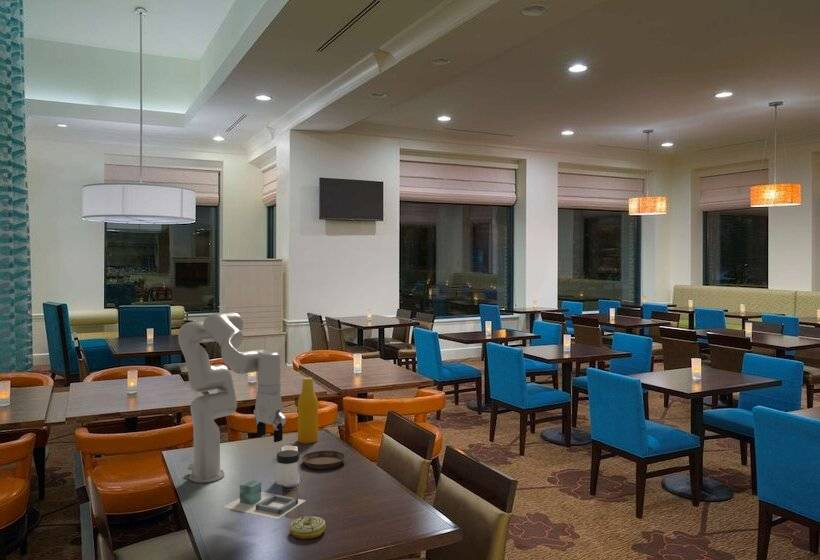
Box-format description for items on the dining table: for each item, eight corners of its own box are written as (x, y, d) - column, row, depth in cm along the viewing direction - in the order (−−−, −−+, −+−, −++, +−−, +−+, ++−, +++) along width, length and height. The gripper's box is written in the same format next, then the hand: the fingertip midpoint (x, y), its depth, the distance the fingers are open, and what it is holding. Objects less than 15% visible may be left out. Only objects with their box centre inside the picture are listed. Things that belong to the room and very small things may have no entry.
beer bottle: (307, 436, 280) (307, 375, 279) (322, 440, 274) (322, 377, 273) (293, 441, 272) (293, 378, 271) (307, 445, 267) (307, 381, 266)
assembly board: (222, 511, 195) (222, 502, 195) (253, 494, 210) (253, 486, 210) (277, 523, 187) (277, 514, 186) (306, 504, 201) (306, 496, 201)
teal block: (239, 502, 199) (239, 484, 199) (249, 496, 204) (249, 479, 204) (251, 504, 197) (251, 487, 197) (261, 499, 202) (261, 481, 202)
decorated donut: (300, 523, 187) (300, 511, 187) (331, 528, 184) (331, 516, 184) (283, 537, 178) (283, 525, 177) (315, 543, 174) (315, 530, 174)
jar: (280, 491, 213) (280, 458, 212) (272, 484, 219) (272, 452, 219) (303, 486, 218) (303, 454, 217) (295, 479, 224) (295, 448, 224)
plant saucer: (308, 456, 252) (308, 449, 252) (349, 457, 251) (349, 450, 251) (296, 470, 235) (296, 463, 235) (340, 472, 233) (340, 464, 233)
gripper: (245, 387, 205) (245, 436, 205) (275, 394, 193) (275, 446, 194) (263, 383, 210) (264, 431, 211) (293, 390, 199) (294, 441, 199)
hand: (269, 438), depth 202 cm, fingers open, 9 cm apart
